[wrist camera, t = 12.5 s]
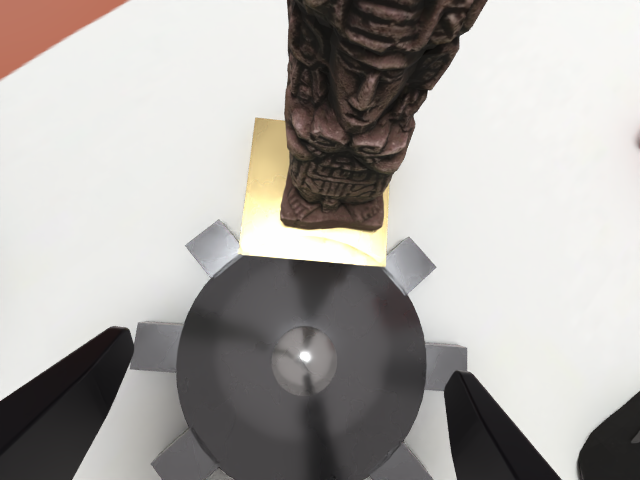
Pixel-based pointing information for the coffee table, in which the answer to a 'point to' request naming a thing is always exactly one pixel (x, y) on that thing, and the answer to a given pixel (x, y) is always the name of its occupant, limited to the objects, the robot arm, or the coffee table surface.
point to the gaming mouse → (614, 446)
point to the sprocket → (297, 346)
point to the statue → (359, 99)
